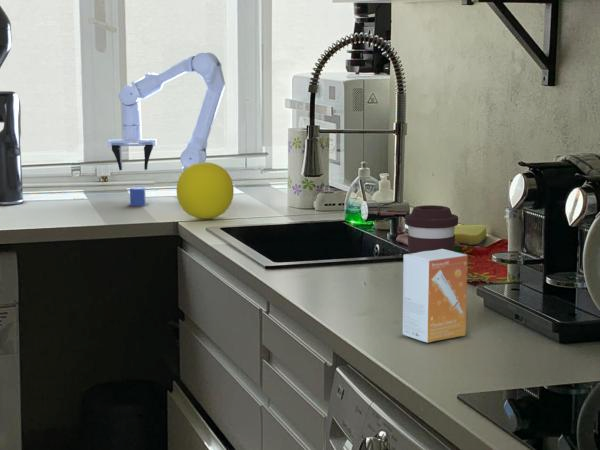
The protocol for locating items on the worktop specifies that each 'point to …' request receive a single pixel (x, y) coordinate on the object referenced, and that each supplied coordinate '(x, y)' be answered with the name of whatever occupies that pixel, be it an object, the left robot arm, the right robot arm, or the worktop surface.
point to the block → (137, 196)
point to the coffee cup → (431, 228)
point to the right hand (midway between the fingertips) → (133, 169)
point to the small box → (434, 295)
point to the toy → (205, 190)
